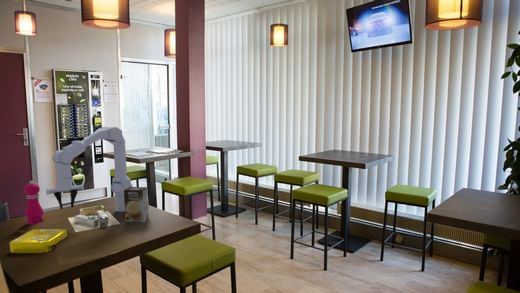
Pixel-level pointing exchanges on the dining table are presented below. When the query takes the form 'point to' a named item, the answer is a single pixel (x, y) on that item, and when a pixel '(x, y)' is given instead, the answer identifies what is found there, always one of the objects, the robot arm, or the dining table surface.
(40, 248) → the element tile
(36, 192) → the pepper mill
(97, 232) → the dining table surface
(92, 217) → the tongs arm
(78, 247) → the dining table surface
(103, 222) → the grey long bar
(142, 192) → the coffee box
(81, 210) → the tan wooden arch piece
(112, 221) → the board
